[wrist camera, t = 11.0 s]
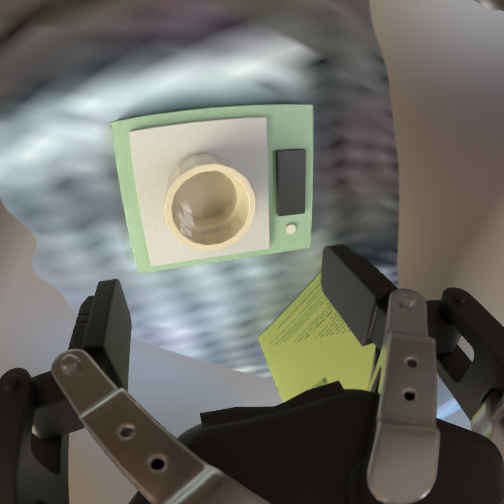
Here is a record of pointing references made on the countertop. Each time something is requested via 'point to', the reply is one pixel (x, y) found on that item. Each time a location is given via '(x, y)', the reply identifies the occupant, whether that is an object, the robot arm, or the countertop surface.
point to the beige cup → (208, 202)
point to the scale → (237, 153)
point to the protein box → (314, 347)
